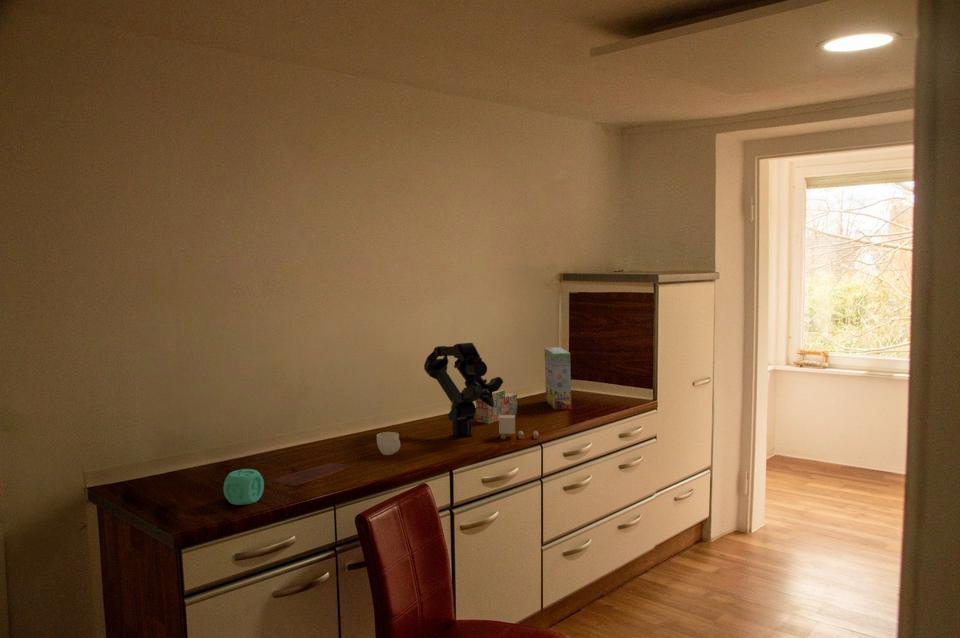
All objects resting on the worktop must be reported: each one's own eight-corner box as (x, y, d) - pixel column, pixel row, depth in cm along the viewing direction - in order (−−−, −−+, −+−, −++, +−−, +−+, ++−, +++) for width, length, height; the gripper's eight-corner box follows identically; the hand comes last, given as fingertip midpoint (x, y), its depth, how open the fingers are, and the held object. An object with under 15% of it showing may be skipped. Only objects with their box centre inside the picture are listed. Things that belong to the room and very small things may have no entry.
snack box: (543, 401, 354) (543, 347, 352) (561, 400, 355) (561, 347, 353) (553, 410, 333) (553, 352, 331) (572, 409, 334) (572, 352, 332)
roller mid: (524, 436, 279) (520, 433, 279) (521, 440, 279) (517, 437, 279) (524, 432, 285) (520, 429, 285) (521, 437, 285) (517, 434, 285)
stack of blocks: (505, 413, 327) (505, 385, 326) (517, 415, 323) (517, 387, 322) (476, 422, 310) (475, 393, 309) (488, 424, 306) (488, 394, 305)
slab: (499, 433, 280) (498, 417, 279) (499, 430, 285) (499, 415, 284) (515, 433, 279) (515, 417, 279) (515, 430, 284) (514, 415, 284)
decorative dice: (240, 495, 215) (239, 468, 214) (264, 497, 213) (263, 470, 212) (223, 503, 207) (222, 475, 207) (248, 506, 205) (247, 477, 204)
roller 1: (503, 440, 279) (507, 436, 279) (499, 437, 279) (503, 433, 279) (503, 437, 285) (507, 433, 285) (499, 433, 285) (503, 429, 285)
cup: (389, 449, 265) (389, 430, 265) (408, 454, 259) (407, 435, 258) (372, 453, 260) (372, 434, 259) (391, 458, 253) (390, 439, 252)
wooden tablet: (294, 489, 222) (294, 484, 222) (271, 484, 227) (271, 479, 227) (355, 468, 244) (355, 463, 244) (333, 463, 249) (332, 458, 249)
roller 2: (532, 436, 279) (535, 440, 279) (536, 433, 279) (539, 437, 279) (532, 432, 284) (535, 437, 285) (536, 429, 284) (539, 434, 284)
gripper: (443, 393, 280) (466, 424, 284) (480, 381, 269) (503, 414, 273) (456, 375, 288) (478, 406, 293) (492, 363, 277) (514, 395, 281)
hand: (492, 406), depth 285 cm, fingers closed
